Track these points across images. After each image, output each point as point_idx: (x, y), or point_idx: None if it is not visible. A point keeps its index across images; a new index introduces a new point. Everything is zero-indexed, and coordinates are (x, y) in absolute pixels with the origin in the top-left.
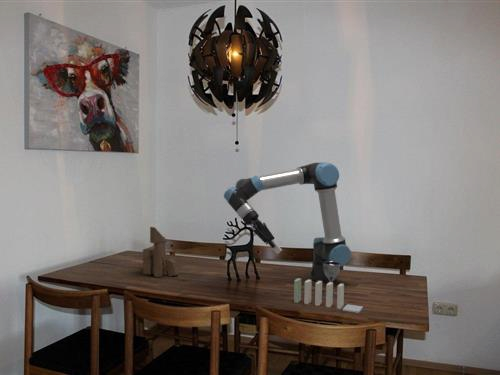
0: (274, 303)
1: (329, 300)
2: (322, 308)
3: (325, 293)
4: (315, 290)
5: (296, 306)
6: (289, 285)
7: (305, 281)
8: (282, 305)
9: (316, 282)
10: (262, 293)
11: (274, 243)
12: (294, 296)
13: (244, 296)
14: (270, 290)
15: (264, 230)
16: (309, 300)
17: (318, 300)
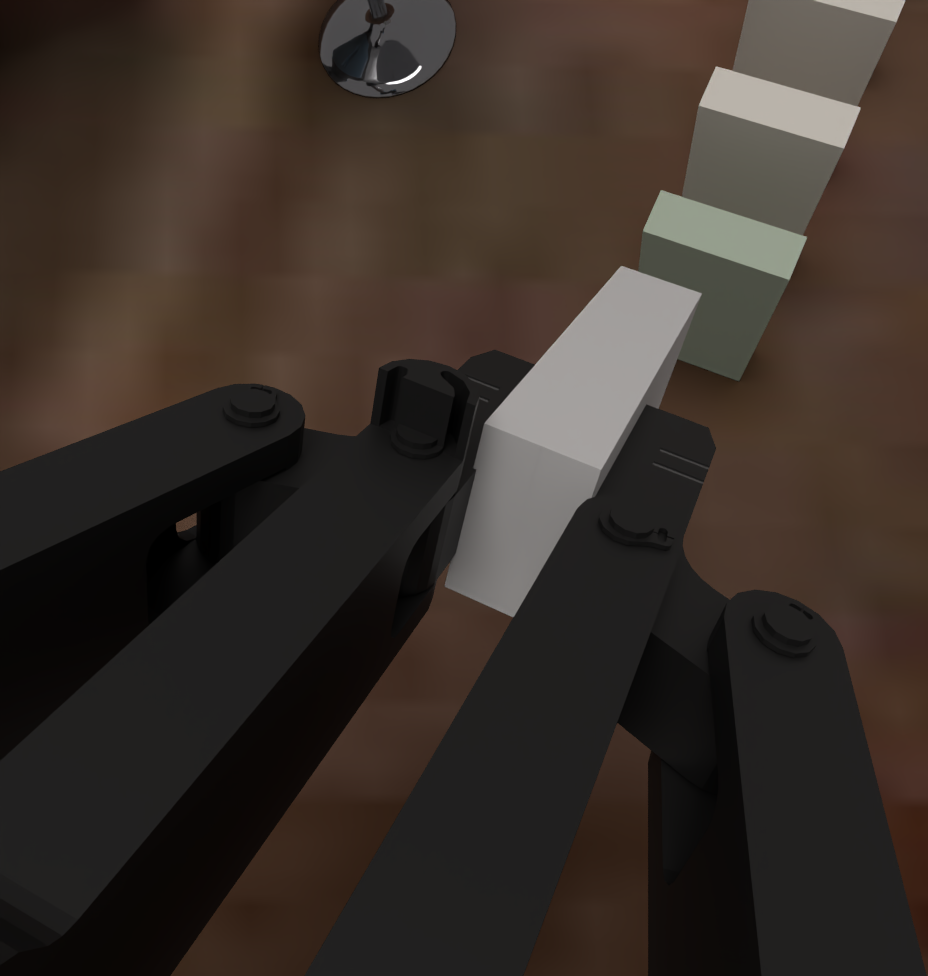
0: (812, 586)
1: None
2: (913, 121)
3: (406, 79)
4: (866, 83)
5: (888, 358)
6: (97, 416)
7: (818, 138)
8: (875, 500)
9: (852, 10)
10: (424, 720)
11: (633, 413)
12: (751, 354)
13: (567, 946)
14: None
15: (143, 863)
16: None
17: None
